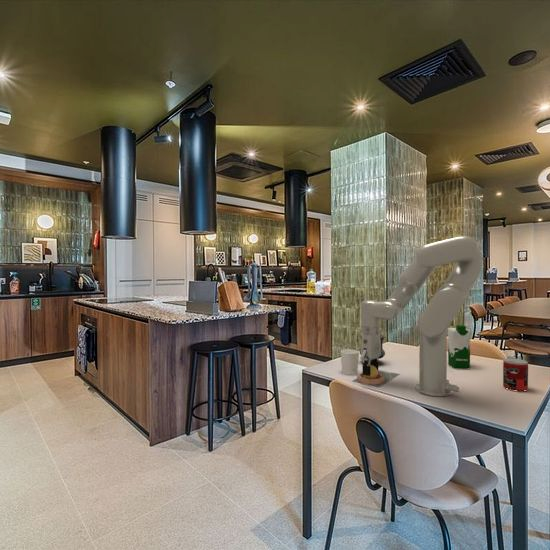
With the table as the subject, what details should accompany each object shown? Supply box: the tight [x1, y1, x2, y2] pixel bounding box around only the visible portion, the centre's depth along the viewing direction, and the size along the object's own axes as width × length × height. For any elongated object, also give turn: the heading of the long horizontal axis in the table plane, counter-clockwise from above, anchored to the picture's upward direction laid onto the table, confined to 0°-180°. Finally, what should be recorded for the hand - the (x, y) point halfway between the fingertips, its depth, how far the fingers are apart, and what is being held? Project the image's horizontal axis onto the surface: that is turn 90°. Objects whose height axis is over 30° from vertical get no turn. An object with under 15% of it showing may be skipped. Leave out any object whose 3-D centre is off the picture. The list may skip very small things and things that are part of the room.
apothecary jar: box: [359, 327, 386, 367], centre depth 171 cm, size 12×12×18 cm
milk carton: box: [447, 324, 472, 369], centre depth 165 cm, size 9×9×20 cm
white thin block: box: [378, 369, 392, 381], centre depth 149 cm, size 12×1×3 cm, turn 50°
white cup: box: [340, 348, 360, 376], centre depth 156 cm, size 8×8×10 cm
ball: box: [364, 365, 379, 379], centre depth 144 cm, size 6×6×6 cm
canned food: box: [502, 357, 529, 391], centre depth 135 cm, size 8×8×11 cm
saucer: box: [356, 371, 384, 386], centre depth 144 cm, size 10×10×2 cm
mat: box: [352, 369, 400, 388], centre depth 149 cm, size 12×22×1 cm, turn 140°
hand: (370, 372), depth 144 cm, fingers open, 7 cm apart
